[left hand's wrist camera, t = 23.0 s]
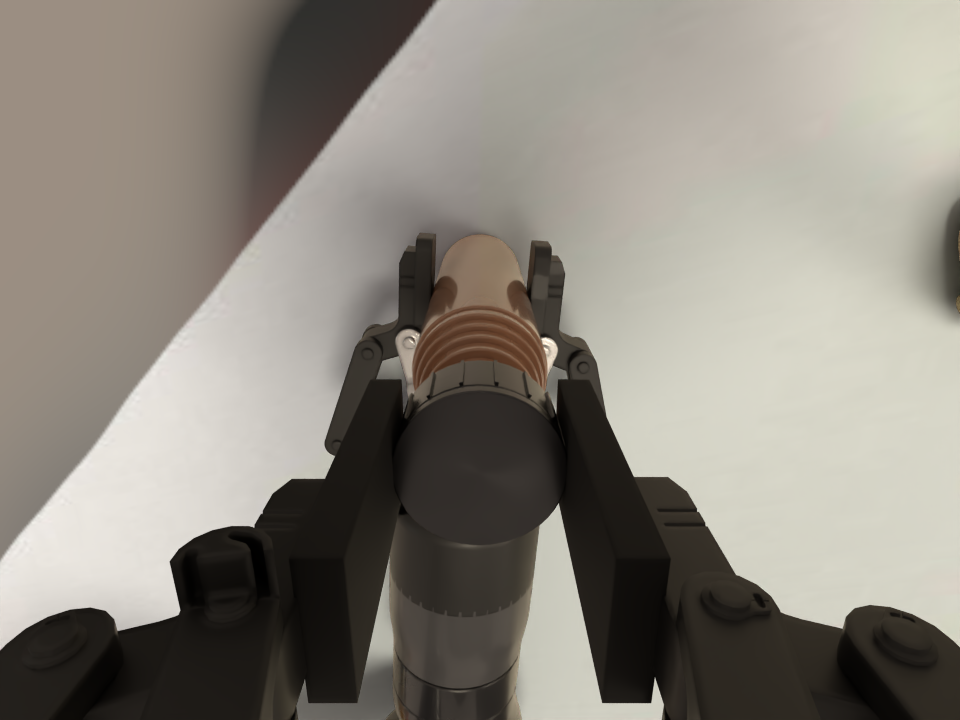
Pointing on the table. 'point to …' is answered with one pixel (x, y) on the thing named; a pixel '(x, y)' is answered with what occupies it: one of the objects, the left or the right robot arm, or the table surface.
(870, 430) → the table surface
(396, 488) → the cap
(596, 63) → the table surface
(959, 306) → the sculpture
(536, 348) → the bottle
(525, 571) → the right robot arm
